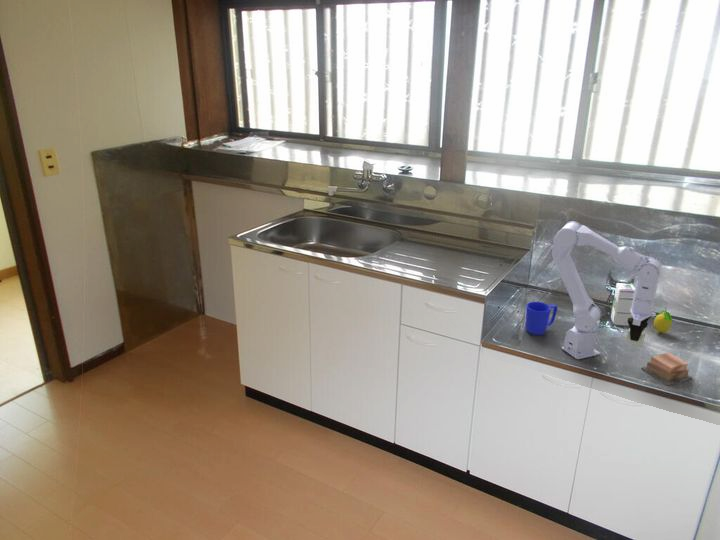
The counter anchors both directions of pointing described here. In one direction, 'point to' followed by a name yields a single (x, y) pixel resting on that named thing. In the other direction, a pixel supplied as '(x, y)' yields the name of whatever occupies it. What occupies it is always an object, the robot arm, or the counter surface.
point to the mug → (538, 317)
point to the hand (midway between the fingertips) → (635, 336)
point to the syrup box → (622, 304)
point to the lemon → (663, 322)
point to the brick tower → (667, 369)
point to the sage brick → (638, 340)
